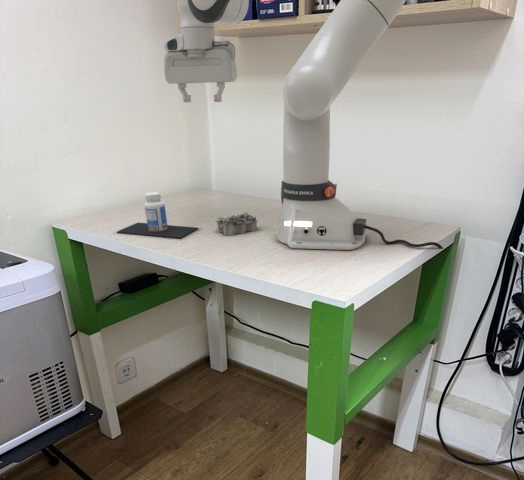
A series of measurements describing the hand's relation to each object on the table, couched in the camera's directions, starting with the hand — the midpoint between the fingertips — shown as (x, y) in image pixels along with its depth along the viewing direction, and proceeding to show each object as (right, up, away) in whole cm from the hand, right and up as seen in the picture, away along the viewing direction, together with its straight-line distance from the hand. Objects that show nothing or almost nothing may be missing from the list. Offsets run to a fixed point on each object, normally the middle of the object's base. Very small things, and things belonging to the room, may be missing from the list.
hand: (202, 102), depth 131 cm
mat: (-13, -35, +2) cm, 37 cm away
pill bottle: (-13, -35, +2) cm, 37 cm away
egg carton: (+9, -35, +1) cm, 36 cm away
